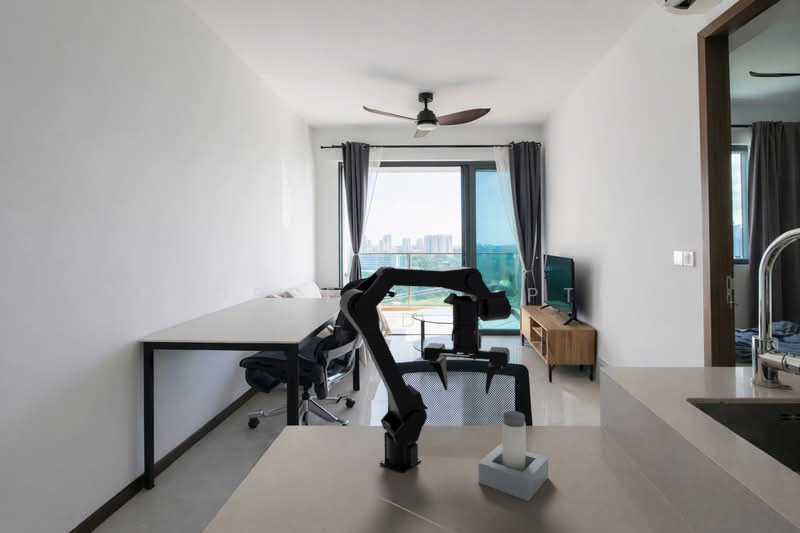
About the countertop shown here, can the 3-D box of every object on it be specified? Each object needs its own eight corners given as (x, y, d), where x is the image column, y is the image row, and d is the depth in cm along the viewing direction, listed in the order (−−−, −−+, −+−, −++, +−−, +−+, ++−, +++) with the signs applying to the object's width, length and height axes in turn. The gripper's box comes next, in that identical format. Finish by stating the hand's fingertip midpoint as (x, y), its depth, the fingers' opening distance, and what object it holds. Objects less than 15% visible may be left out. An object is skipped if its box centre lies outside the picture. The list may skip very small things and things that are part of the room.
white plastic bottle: (496, 475, 85) (497, 413, 84) (512, 468, 88) (513, 408, 87) (514, 486, 81) (515, 421, 81) (530, 479, 84) (531, 416, 83)
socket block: (478, 482, 84) (478, 462, 84) (501, 461, 92) (501, 443, 91) (528, 501, 78) (528, 479, 77) (548, 477, 85) (548, 457, 85)
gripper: (511, 318, 101) (511, 384, 102) (434, 315, 107) (434, 377, 108) (507, 327, 90) (507, 400, 91) (421, 323, 96) (422, 392, 97)
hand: (466, 391), depth 97 cm, fingers open, 9 cm apart
